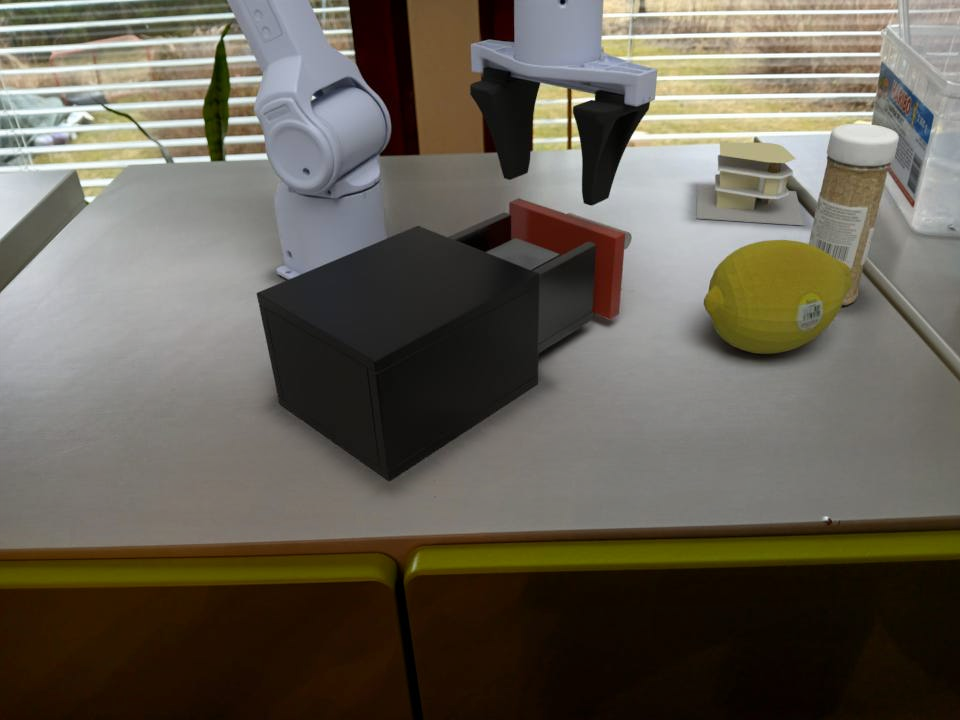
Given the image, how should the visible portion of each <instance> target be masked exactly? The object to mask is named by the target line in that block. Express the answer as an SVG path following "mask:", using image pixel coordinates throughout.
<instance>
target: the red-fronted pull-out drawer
mask: <svg viewBox="0 0 960 720" xmlns="http://www.w3.org/2000/svg"><path fill="white" fill-rule="evenodd" d="M447 237H448V238H451V239H453V240H456V241H458V242H461V243H463V244H466V245H468V246H471V247H473V248H476V249H479V250H481V251H484V252H487V251H489V250H491V249H493V248H495V247H498V246H500V245H502V244H504V243H506V242H508V241H510V240H512V239H514V238H517V239H520V240H523V241H526V242H528V243H531V244H534V245H536V246H539V247H542V248H545V249H547V250H550V251H553V252H555V253H558V254H560V256H559V257H557V258H555V259H554V260H552V261H550V262H548V263H546V264H544V265H542V266H540V267H538V268H536V269H534V270H532V271H534V272H537V273H539V274H540V280H539V343H538V354H540V353H542V352H544V351H545V350H546V349H548V348H549V347H551V346H553V345H555V344H556V343H558V342H559V341H561V340H563V339H564V338H565V337H567V336H569V335H571V334H572V333H574V332H575V331H577V330H579V329H580V328H582V327H584V326H586V325H587V324H588V323H590V322H592V321H593V314H595V315H597V316H600V317H603V318H604V319H606V320H612V319H614V318H615V317H617V316H619V315H620V307H621V294H622V284H623V283H622V282H623V270H624V257H625V250H627V249H628V248H629V246H630V245H631V243H632V233H630V232H629V231H626V230H623V229H620V228H617V227H614V226H611V225H608V224H605V223H602V222H599V221H595V220H592V219H589V218H586V217H583V216H580V215H578V214H574V213H571V212H568V213H565V212H562V211H559V210H556V209H554V208H550V207H546V206H543V205H541V204H538V203H536V202H535V203H534V202H531V201H528V200H525V199H523V198H520V197H519V198H516V199H514V200H512V201H509V202H508V212H505V211H504V212H501V213H498V214H497V215H493V216H491V217H490V218H488V219H485V220H483V221H481V222H479V223H476V224H474V225H472V226H469V227H467V228H465V229H462V230H461V231H458V232H456V233H453V234H451V235H449V236H447Z"/></svg>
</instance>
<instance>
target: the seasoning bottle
mask: <svg viewBox="0 0 960 720" xmlns="http://www.w3.org/2000/svg"><path fill="white" fill-rule="evenodd" d="M899 140H900V137H899V134H898V133H897V132H896V131H895V130H894V129H891V128H888V127H885V126H881V125H876V124H870V123H847V124H845V123H844V124H841V125H837V126H836V127H834V128H833V129H832V130H831V132H830V136H829V139H828V145H827V149H826V154H827V155H826V166H825V170H824V174H823V179H822V184H821V188H820V192H819V194H818V199H817V203H816V208H815V213H814V217H813V222H812V226H811V231H810V235H809V240H808V244H810V245H813V246H815V247H817V248H819V249H821V250H823V251H824V252H826V253H828V254H829V255H831V256H832V257H834V258H835V259H837V260H839V261H841V262H843V263H845V264H846V265H847V266H848V267H849V268H850V271H851V278H852V281H851V287H850V289H849V291H848V292H847V294H846V295H845V297H844V299H843V302H842V306H849V305H850V304H853V303H854V302H855V301H856V299H858V296H859V286H860V282H861V277H862V275H863V271H864V267H865V264H866V262H867V259H868V255H869V252H870V247H871V245H872V239H873V235H874V232H875V224H876V221H877V216H878V212H879V209H880V203H881V200H882V196H883V192H884V189H885V184H886V180H887V174H888V173H889V169H890V167H891V165H892V162H893V161H894V159H895V157H896V153H897V148H898V145H899Z"/></svg>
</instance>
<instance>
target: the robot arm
mask: <svg viewBox="0 0 960 720" xmlns="http://www.w3.org/2000/svg"><path fill="white" fill-rule="evenodd" d="M226 2H227V3H228V6H229V8H230V9H231V11H232V13H233V16H234V18H235V20H236V22H237V24H238V26H239V28H240V30H241V32H242V34H243V37H244V38H245V40H246V42H247V44H248V46H249V49H250V51H251V52H252V55H253V57H254V58H255V60H256V63H257V65H258V66H259V69H260V70H261V73H262V77H261V81H260V84H259V88H258V91H257V95H256V98H255V101H254V106H253V112H254V114H255V116H256V118H257V120H258V122H259V125H260V126H261V129H262V134H263V138H264V139H263V140H264V150H265V153H266V158H267V160H268V163H269V165H270V167H271V169H272V170H273V172H274V173H275V175H276V176H277V177H278V179H279V180H280V181H279V183H278V185H277V188H276V189H275V193H274V198H273V207H274V214H275V219H276V220H275V221H276V225H277V231H278V235H279V237H278V238H279V243H280V247H281V252H282V257H283V263H284V264H283V265H281V266H279V267H277V268H276V274H277V275H278V276H280V277H283V278H284V279H286V280H289V279H291V278H294V277H296V276H298V275H301V274H303V273H306V272H308V271H310V270H313V269H315V268H318V267H320V266H322V265H325V264H327V263H329V262H332V261H334V260H337V259H339V258H341V257H344V256H346V255H349V254H351V253H353V252H356V251H358V250H361V249H363V248H365V247H368V246H370V245H373V244H375V243H377V242H380V241H382V240H385V239H387V238H388V237H387V228H386V217H385V207H384V198H383V197H384V196H383V187H382V178H381V168H382V165H381V155H380V154H381V153H382V152H383V151H385V149H386V147H387V146H388V144H389V143H390V139H391V135H392V122H391V115H390V113H389V110H388V108H387V106H386V104H385V102H384V101H383V100H382V98H381V97H380V96H379V94H378V93H376V92H375V90H373V89H372V88H371V87H370V86H369V85H368V84H367V82H366V81H365V79H364V78H363V75H362V74H361V71H360V69H359V67H358V65H357V63H356V62H355V61H354V60H352V59H351V58H349V57H348V56H346V55H345V54H343V53H342V52H340V51H339V50H338V49H335V48H334V47H333V46H332V45H330V44H329V41H328V39H327V37H326V35H325V33H324V30H323V28H322V26H321V24H320V22H319V20H318V18H317V15H316V13H315V10H314V9H313V6H312V4H311V2H310V0H226ZM513 4H514V5H513V21H514V22H513V26H514V28H513V29H514V36H513V37H514V38H513V39H514V41H503V40H495V39H486V40H482V41H477V42H474V43H471V44H470V62H471V64H470V65H471V72H472V73H477V74H482V75H483V76H481V77H480V78H481V79H480V80H479V81H475V82H473V83H471V84H470V85H469V94H470V96H471V98H472V99H473V101H474V102H475V104H476V106H477V107H478V109H479V110H480V113H481V114H482V116H483V119H484V120H485V123H486V125H487V127H488V131H489V132H490V135H491V138H492V141H493V145H494V147H495V150H496V154H497V158H498V161H499V165H500V170H501V173H502V176H503V179H506V180H508V181H511V180H513V179H516V178H518V177H521V176H523V175H526V174H528V173H529V169H530V164H531V163H530V162H531V153H532V152H531V150H532V126H533V119H534V113H535V107H536V102H537V97H538V93H539V90H540V86H541V84H545V85H548V86H554V87H560V88H563V89H567V90H573V91H577V92H583V93H588V94H592V95H594V99H590V100H587V101H584V102H580V103H579V104H576V105H573V106H572V114H573V117H574V121H575V124H576V127H577V132H578V137H579V143H580V148H581V149H580V150H581V162H582V163H581V195H582V202H583V204H584V205H588V206H594V205H597V204H599V203H601V202H604V201H605V200H608V199H609V197H610V195H611V190H612V186H613V183H614V180H615V177H616V174H617V172H618V169H619V166H620V162H621V160H622V158H623V156H624V153H625V151H626V149H627V146H628V144H629V142H630V140H631V139H632V138H633V137H632V136H633V135H634V133H635V131H636V130H637V128H638V126H639V125H640V123H641V122H642V120H643V119H644V117H645V115H646V114H647V112H648V111H649V110H650V106H651V102H653V101H654V100H656V93H657V92H656V91H657V82H658V81H657V80H658V68H656V67H650V66H646V65H641V64H639V63H635V62H632V61H628V60H626V59H623V58H620V57H617V56H616V55H615V56H614V55H611V54H609V53H606V52H605V51H604V50H605V48H604V46H602V39H603V20H604V19H603V18H604V0H513ZM313 97H314V99H312V98H313Z"/></svg>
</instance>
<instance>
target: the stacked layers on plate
mask: <svg viewBox="0 0 960 720" xmlns="http://www.w3.org/2000/svg"><path fill="white" fill-rule="evenodd" d="M794 160H796V156H794V155H793V154H792V152H790V151H788V149H787V148H785V146H782V145H780V144H778V143H773V142H719V154H718V155H717V171H719V173H718V174H717V173H716V174H715V175H714V186H711V185H697V193H696V194H697V195H696V196H697V197H696V198H697V199H696V219H699V220H700V219H701V220H716V221H717V220H718V221H731V222H746V223H760V224H777V225H791V226H805V223H804V219H803V215H802V211H801V210H802V209H801V207H800V202H799V198H798V195H797V191H796V190H789V189H788V188H787V182H788V177H790V176H793V174H794V170H793V169H792V168H791V167H790V166H789V165H788V164H786V163H789V162H791V161H794Z"/></svg>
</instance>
